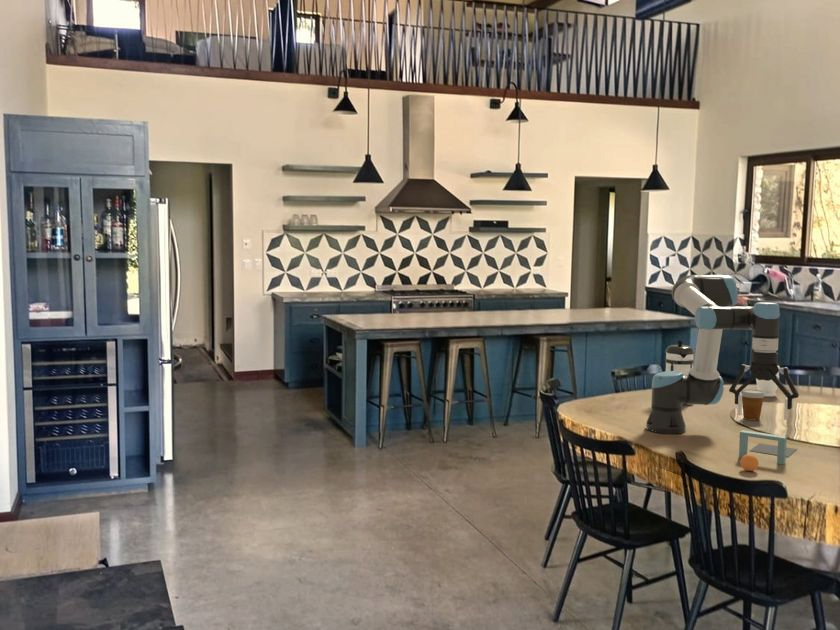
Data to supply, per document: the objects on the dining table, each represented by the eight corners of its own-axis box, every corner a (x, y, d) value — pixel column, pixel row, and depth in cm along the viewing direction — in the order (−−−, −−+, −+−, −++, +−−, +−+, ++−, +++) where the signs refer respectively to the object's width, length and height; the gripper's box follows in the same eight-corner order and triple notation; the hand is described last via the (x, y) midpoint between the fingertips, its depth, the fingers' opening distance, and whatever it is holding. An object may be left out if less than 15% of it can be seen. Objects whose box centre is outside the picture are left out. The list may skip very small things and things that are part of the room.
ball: (738, 471, 252) (738, 455, 252) (742, 467, 257) (743, 451, 256) (755, 474, 249) (756, 457, 248) (760, 470, 253) (760, 454, 253)
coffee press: (702, 403, 358) (705, 340, 355) (681, 407, 349) (684, 342, 346) (671, 397, 372) (673, 336, 370) (650, 401, 363) (652, 338, 360)
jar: (782, 397, 373) (783, 367, 372) (760, 397, 373) (762, 367, 372) (772, 393, 384) (773, 363, 382) (751, 393, 384) (752, 363, 382)
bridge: (738, 457, 269) (739, 431, 268) (741, 455, 271) (742, 430, 270) (783, 464, 260) (784, 438, 259) (785, 462, 262) (786, 436, 261)
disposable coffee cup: (738, 419, 326) (739, 392, 325) (740, 415, 334) (741, 388, 333) (762, 422, 321) (764, 394, 320) (764, 417, 330) (765, 390, 329)
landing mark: (749, 451, 277) (749, 450, 277) (759, 443, 287) (759, 443, 287) (788, 457, 269) (788, 456, 269) (796, 449, 279) (796, 449, 279)
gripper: (721, 349, 246) (719, 414, 248) (807, 354, 234) (804, 423, 235) (725, 347, 253) (723, 410, 254) (809, 352, 240) (806, 419, 242)
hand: (762, 416), depth 245 cm, fingers open, 13 cm apart
